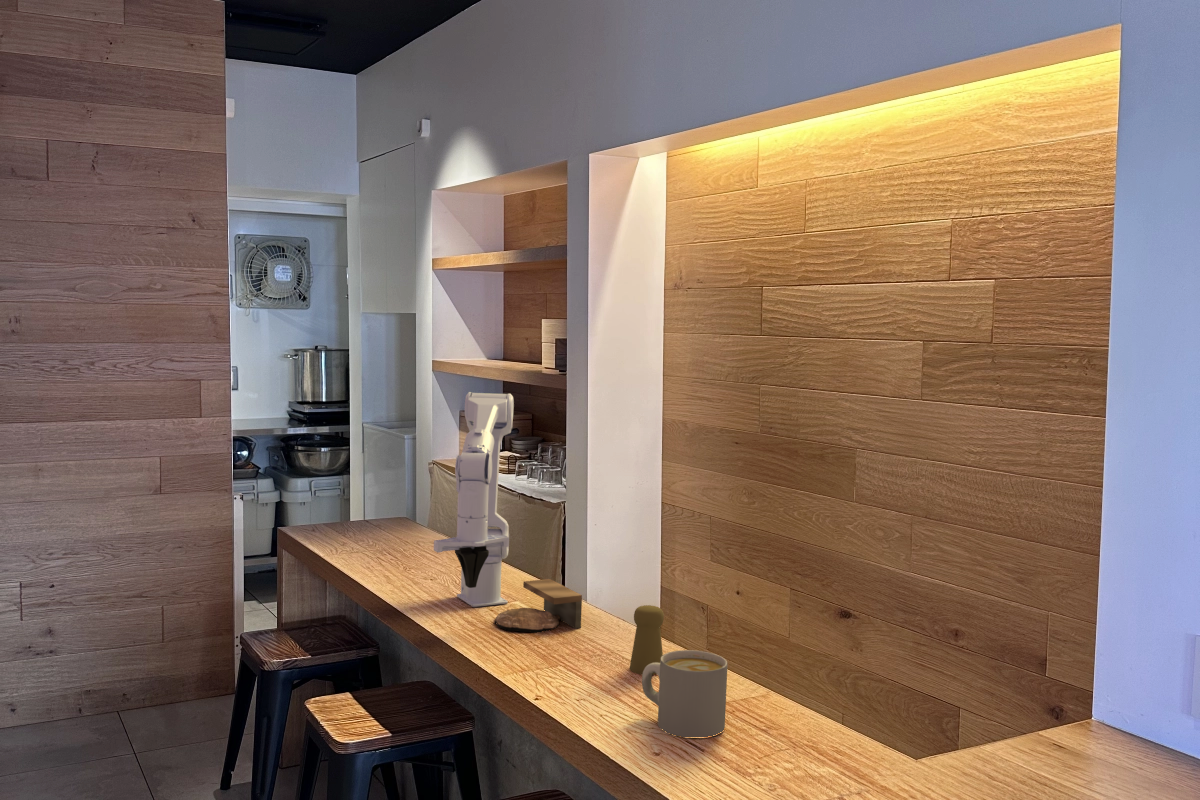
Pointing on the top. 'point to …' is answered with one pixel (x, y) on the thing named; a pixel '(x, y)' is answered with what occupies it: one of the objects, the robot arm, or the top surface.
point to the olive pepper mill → (647, 638)
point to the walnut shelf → (558, 600)
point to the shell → (527, 620)
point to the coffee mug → (689, 692)
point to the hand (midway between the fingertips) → (470, 586)
